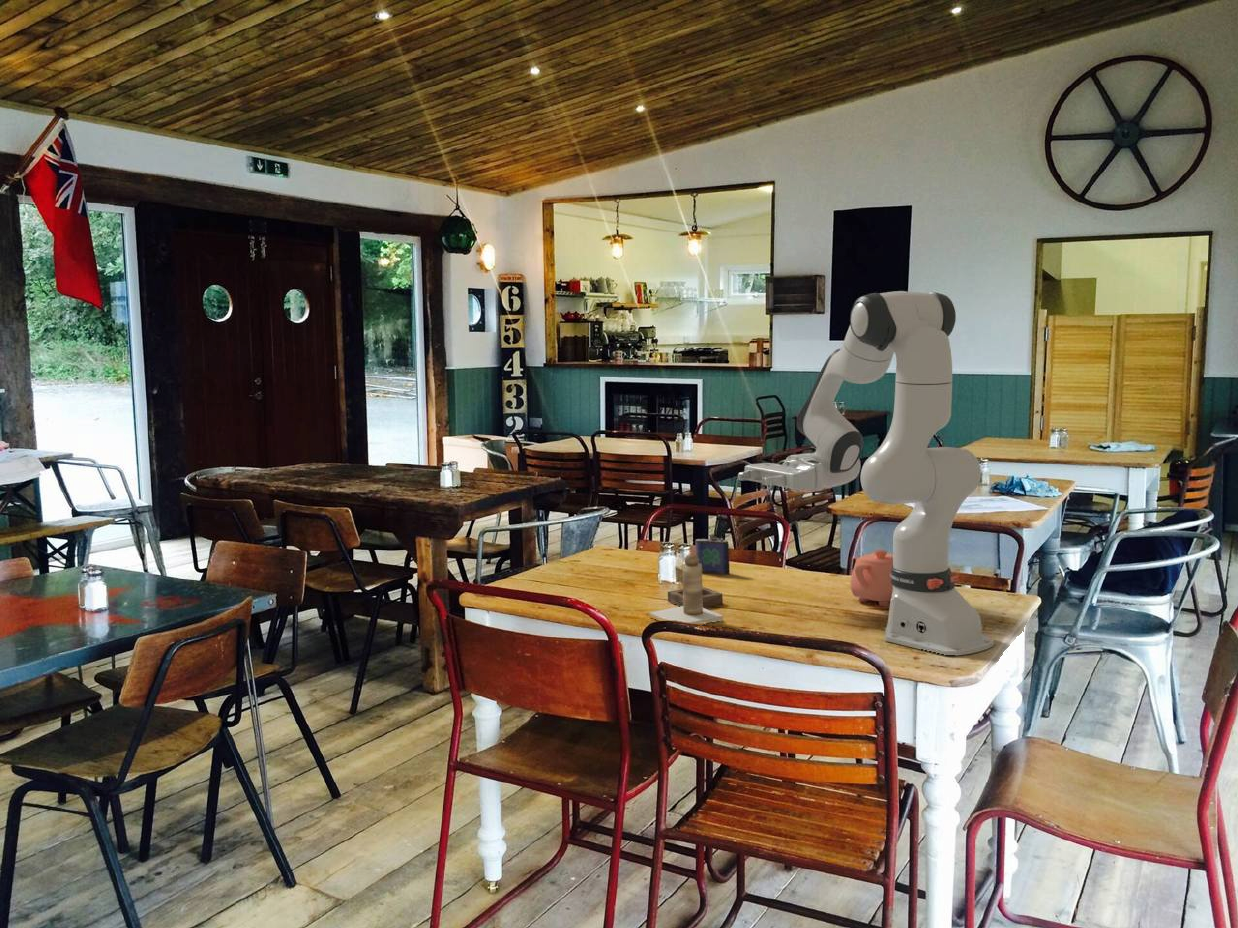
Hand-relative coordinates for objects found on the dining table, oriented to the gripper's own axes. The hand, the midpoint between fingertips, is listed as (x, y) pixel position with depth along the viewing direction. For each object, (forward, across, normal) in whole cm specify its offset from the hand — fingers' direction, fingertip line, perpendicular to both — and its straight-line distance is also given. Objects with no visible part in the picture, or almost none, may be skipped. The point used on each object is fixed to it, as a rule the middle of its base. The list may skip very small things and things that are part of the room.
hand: (751, 479), depth 238 cm
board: (+19, 0, +30) cm, 36 cm away
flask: (-10, -32, +30) cm, 45 cm away
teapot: (-27, +14, +30) cm, 43 cm away
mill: (+17, 0, +29) cm, 33 cm away
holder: (+10, -10, +30) cm, 33 cm away
